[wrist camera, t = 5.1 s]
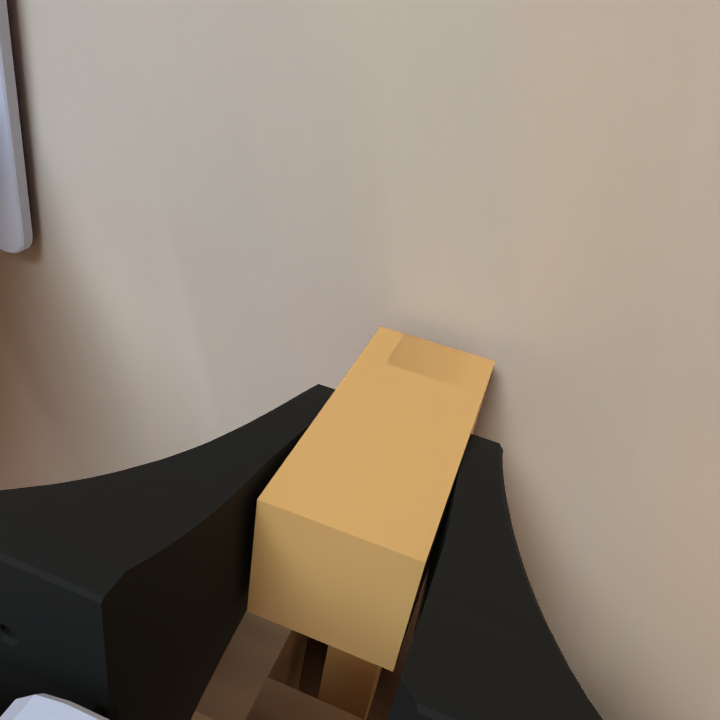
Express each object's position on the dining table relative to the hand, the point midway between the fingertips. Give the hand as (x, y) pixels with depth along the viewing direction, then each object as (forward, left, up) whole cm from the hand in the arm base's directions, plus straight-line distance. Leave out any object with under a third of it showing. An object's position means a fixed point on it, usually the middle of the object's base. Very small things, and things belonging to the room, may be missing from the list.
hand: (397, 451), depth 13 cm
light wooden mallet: (0, -5, -2) cm, 6 cm away
